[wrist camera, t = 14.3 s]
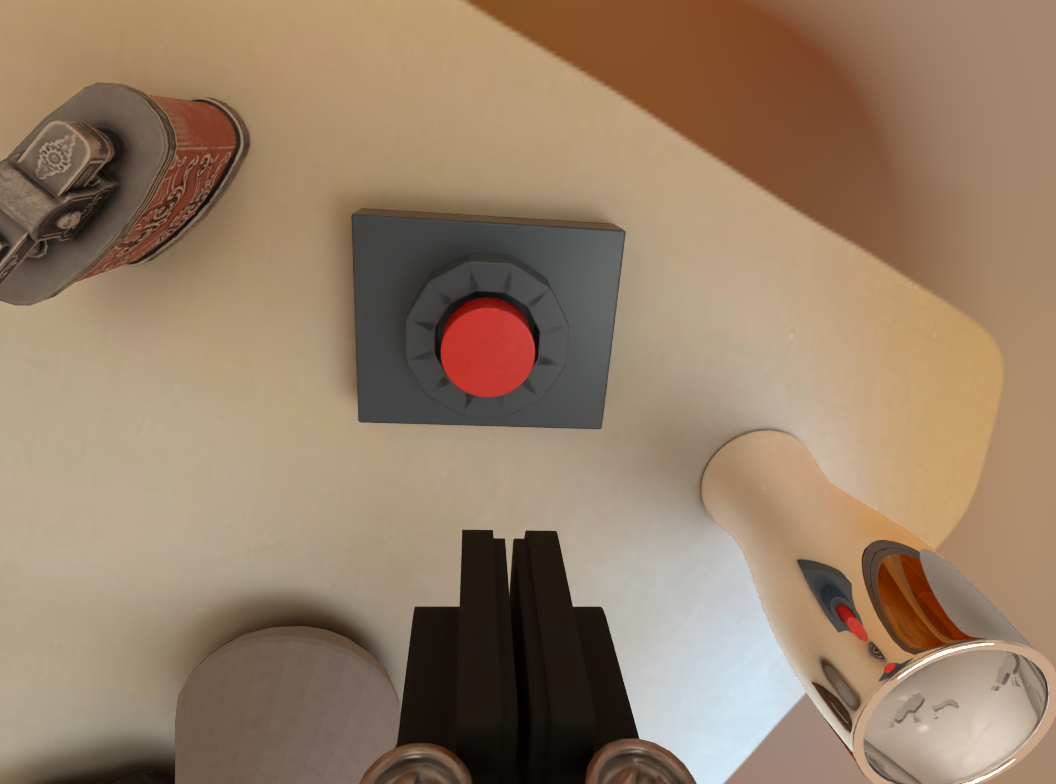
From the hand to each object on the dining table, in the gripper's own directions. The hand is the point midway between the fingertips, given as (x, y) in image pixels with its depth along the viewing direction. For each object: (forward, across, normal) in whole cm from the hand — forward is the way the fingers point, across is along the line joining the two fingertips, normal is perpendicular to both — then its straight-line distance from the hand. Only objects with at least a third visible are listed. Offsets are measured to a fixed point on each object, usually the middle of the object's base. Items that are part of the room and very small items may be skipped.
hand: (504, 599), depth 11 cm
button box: (+19, 0, 0) cm, 19 cm away
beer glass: (+19, -15, +8) cm, 26 cm away
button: (+15, 0, 0) cm, 15 cm away
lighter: (+19, +13, -5) cm, 24 cm away
